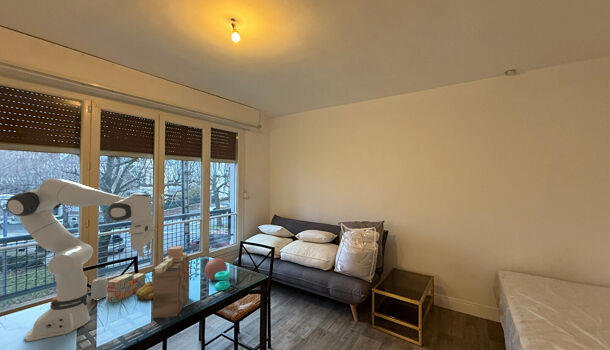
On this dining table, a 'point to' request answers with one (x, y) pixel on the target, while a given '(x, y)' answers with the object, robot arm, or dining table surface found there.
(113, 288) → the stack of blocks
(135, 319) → the dining table surface
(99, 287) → the light grey block
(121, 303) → the dining table surface
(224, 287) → the donuts
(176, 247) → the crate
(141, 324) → the dining table surface
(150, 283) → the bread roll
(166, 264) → the pallet
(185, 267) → the paper bag
